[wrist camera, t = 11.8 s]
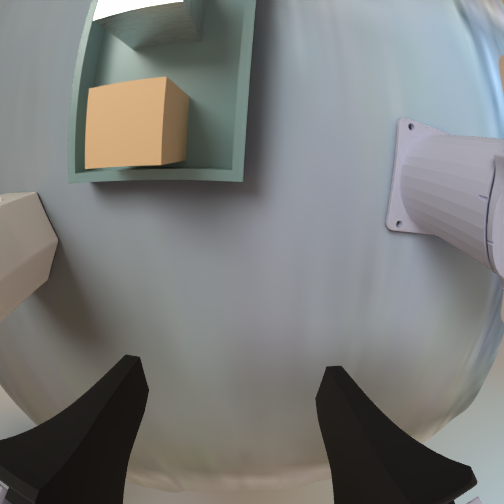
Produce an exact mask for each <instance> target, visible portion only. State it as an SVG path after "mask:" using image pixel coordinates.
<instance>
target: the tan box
mask: <svg viewBox="0 0 504 504" xmlns="http://www.w3.org/2000/svg"><path fill="white" fill-rule="evenodd" d="M189 101H190V97H189V96H188V95H187V94H186V93H185V92H184V91H183V90H182V89H180V88H179V87H178V86H177V85H176V84H175V83H174V82H172V81H171V80H170V79H169V78H168V77H157V78H148V79H140V80H132V81H126V82H120V83H114V84H109V85H103V86H99V87H94V88H89V94H88V103H87V115H86V133H85V169H92V168H105V167H122V166H145V165H164V164H169V163H174V162H180V161H185V160H186V150H187V130H188V114H189Z"/></svg>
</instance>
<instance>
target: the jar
mask: <svg viewBox="0 0 504 504" xmlns="http://www.w3.org/2000/svg"><path fill="white" fill-rule="evenodd" d="M57 244H58V238H57V236H56V234H55V232H54V230H53V228H52V226H51V224H50V222H49V220H48V217H47V215H46V213H45V211H44V209H43V206H42V204H41V202H40V200H39V197H38V195H37V193H36V192H23V193H6V194H3V195H0V323H1V322H2V321H3V320H4V319H5V318H6V317H7V316H8V315H9V314H10V313H11V312H12V311H13V310H14V309H15V308H16V307H18V306H19V305H20V304H21V303H22V302H23V301H24V300H25V299H26V298H27V297H29V296H30V295H31V294H32V293H33V292H34V291H35V290H37V289H38V288H39V287H40V286H41V285H42V284H44V283H45V282H46V281H47V280H48V278H49V273H50V269H51V265H52V261H53V258H54V254H55V251H56V247H57Z"/></svg>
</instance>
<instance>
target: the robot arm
mask: <svg viewBox="0 0 504 504" xmlns="http://www.w3.org/2000/svg"><path fill="white" fill-rule="evenodd" d="M409 124H410V125H411V130H410V129H409V127H408V125H409ZM398 221H399V225H398V226H396V223H397V222H398ZM386 227H387V228H388V229H390V230H394V231H403V232H412V233H420V234H429V235H436V236H438V237H440V238H441V239H443V240H445V241H447V242H448V243H450V244H452V245H453V246H455V247H456V248H458V249H460V250H461V251H463V252H465V253H466V254H468V255H469V256H471V257H472V258H474V259H475V260H477V261H478V262H480V263H482V264H483V265H484V266H486V267H487V268H489V269H490V270H492V271H493V272H495V273H496V274H498V276H499V277H500V279H501V289H503V290H504V139H495V138H486V137H474V136H458V135H450V134H448V133H445V132H443V131H440V130H437V129H435V128H432V127H429V126H427V125H424V124H421V123H418V122H415V121H412V120H409V119H406V118H401V119H399V120H398V122H397V135H396V148H395V159H394V168H393V177H392V184H391V191H390V198H389V204H388V211H387V216H386ZM148 393H149V388H148V385H147V381H146V378H145V374H144V371H143V367H142V363H141V359H140V357H137V356H131V355H125V356H124V357H123V358H122V359H121V360H120V361H119V362H118V363H117V364H116V365H115V366H114V367H113V368H111V369H110V370H109V371H108V372H107V373H106V374H105V375H104V376H103V377H102V378H101V379H100V380H99V381H98V382H97V383H96V384H95V385H94V386H93V387H92V388H90V389H89V390H88V391H87V392H86V393H85V394H84V395H82V396H81V397H80V398H79V399H78V400H76V401H75V402H74V403H73V404H71V405H70V406H69V407H67V408H66V409H65V410H63V411H62V412H60V413H59V414H57V415H56V416H54V417H53V418H51V419H49V420H48V421H46V422H44V423H42V424H40V425H39V426H37V427H35V428H33V429H30V430H28V431H26V432H24V433H21V434H19V435H16V436H13V437H10V438H7V439H3V440H0V480H1V481H2V482H3V483H4V484H6V485H7V486H8V487H9V489H8V490H7V489H5V488H4V487H3V486H2V485H1V484H0V504H123V494H124V485H125V478H126V472H127V466H128V461H129V457H130V453H131V450H132V447H133V444H134V441H135V438H136V435H137V432H138V429H139V426H140V423H141V421H142V418H143V415H144V412H145V407H146V403H147V398H148ZM315 399H316V407H317V415H318V421H319V425H320V429H321V433H322V437H323V440H324V444H325V448H326V452H327V456H328V459H329V463H330V468H331V474H332V482H333V492H334V504H455V503H454V500H455V499H456V498H458V497H459V496H461V495H462V494H464V493H465V492H467V491H468V490H470V489H471V488H473V487H474V486H475V485H476V484H477V480H476V477H475V475H474V473H473V471H472V469H471V467H470V466H467V465H464V464H462V463H459V462H456V461H453V460H451V459H448V458H446V457H444V456H442V455H440V454H438V453H436V452H434V451H433V450H431V449H429V448H427V447H426V446H424V445H423V444H421V443H419V442H418V441H416V440H415V439H413V438H412V437H411V436H409V435H408V434H407V433H405V432H404V431H403V430H402V429H400V428H399V427H398V426H397V425H395V424H394V423H393V422H392V421H391V420H390V419H389V418H388V417H387V416H386V415H385V414H384V413H382V411H381V410H380V409H379V408H378V407H377V406H376V405H375V404H374V403H373V402H372V401H371V400H370V399H369V398H368V397H367V396H366V394H365V393H364V392H363V391H362V390H361V389H360V387H359V386H358V385H357V384H356V383H355V382H354V380H353V379H352V378H351V377H350V376H349V374H348V373H347V372H346V371H345V370H344V368H343V367H342V366H329V367H326V370H325V373H324V376H323V379H322V382H321V385H320V387H319V390H318V393H317V396H316V398H315ZM467 504H481V501H480V499H479V497H476V498H475V499H473V500H472V501H470V502H468V503H467Z"/></svg>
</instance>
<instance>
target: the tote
mask: <svg viewBox="0 0 504 504" xmlns="http://www.w3.org/2000/svg"><path fill="white" fill-rule="evenodd" d="M98 2H99V0H92V2H91V5H90V8H89V12H88V15H87V18H86V22H85V25H84V29H83V33H82V37H81V41H80V46H79V51H78V55H77V61H76V66H75V72H74V79H73V86H72V94H71V103H70V114H69V130H68V184H70V183H84V182H101V181H126V180H209V181H234V182H243V176H244V159H245V144H246V128H247V114H248V99H249V85H250V72H251V59H252V46H253V34H254V22H255V10H256V0H207V3H206V9H205V16H204V24H203V32H202V40H201V42H188V43H176V44H167V45H159V46H152V47H145V48H139V49H134V50H132V49H131V48H130V47H129V46H127V45H126V44H125V43H123V42H122V41H121V40H119V39H118V38H117V37H115V36H114V35H113V34H111V33H110V32H109V31H107V30H106V29H104V28H103V27H102V26H100V25H99V24H97V23H96V22H94V21H93V19H94V15H95V12H96V8H97V5H98ZM157 77H168V78H169V79H170V80H171V81H172V82H174V83H175V84H176V85H177V86H178V87H179V88H180V89H182V90H183V91H184V92H185V93H186V94H187V95H188V96H189V97H190V101H189V114H188V130H187V150H186V160H185V161H180V162H174V163H169V164H164V165H145V166H122V167H105V168H92V169H85V133H86V115H87V103H88V94H89V88H94V87H99V86H103V85H109V84H114V83H120V82H126V81H132V80H140V79H148V78H157Z"/></svg>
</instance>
